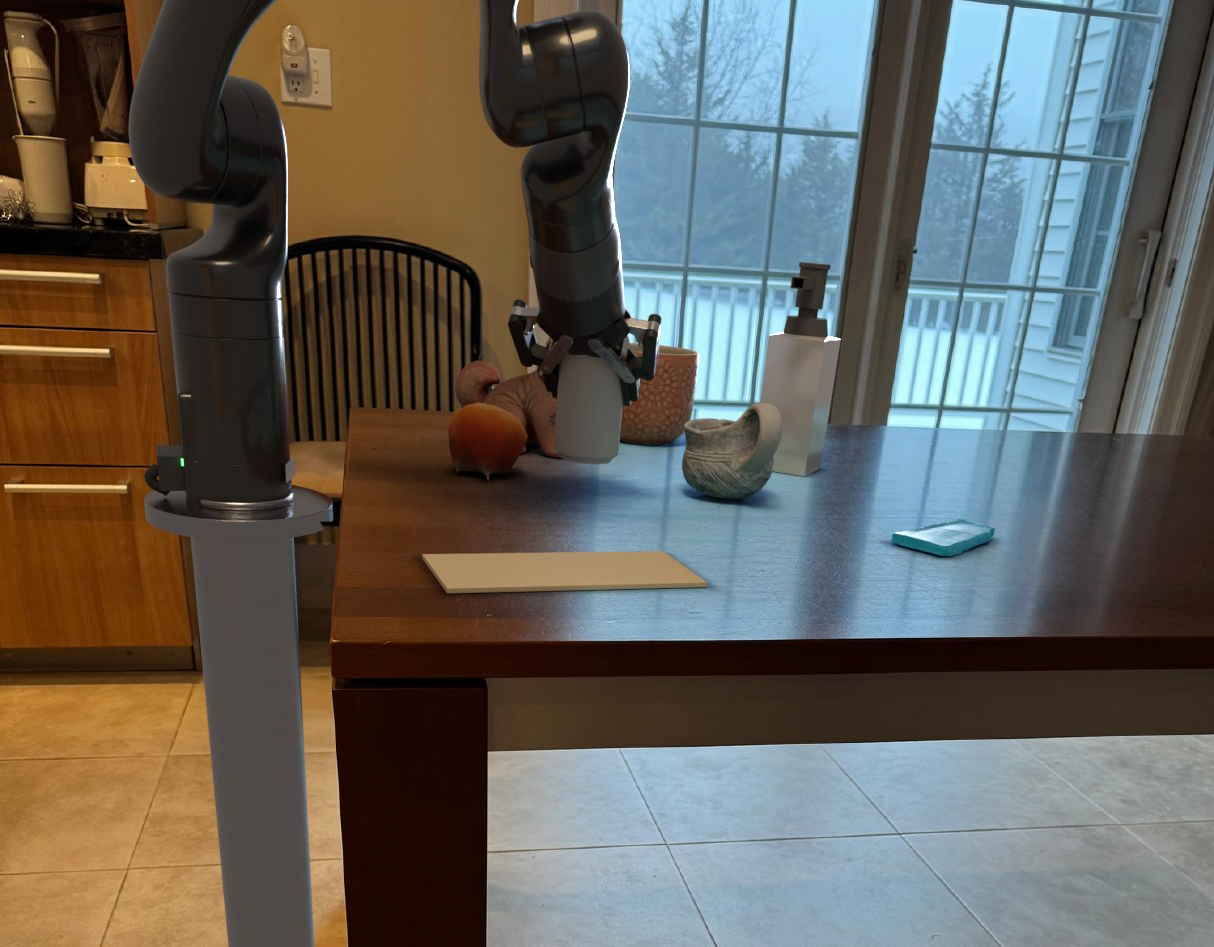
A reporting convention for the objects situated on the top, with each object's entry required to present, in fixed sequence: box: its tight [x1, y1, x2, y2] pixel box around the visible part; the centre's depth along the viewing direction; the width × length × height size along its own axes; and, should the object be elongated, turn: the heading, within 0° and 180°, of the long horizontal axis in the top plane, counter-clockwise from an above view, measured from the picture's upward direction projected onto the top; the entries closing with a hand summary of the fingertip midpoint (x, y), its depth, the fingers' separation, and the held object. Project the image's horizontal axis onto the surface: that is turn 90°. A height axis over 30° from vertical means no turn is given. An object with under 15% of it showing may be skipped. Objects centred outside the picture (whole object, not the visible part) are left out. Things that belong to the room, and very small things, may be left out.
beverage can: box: [554, 351, 623, 465], centre depth 109 cm, size 6×6×12 cm
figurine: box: [454, 336, 562, 459], centre depth 129 cm, size 10×19×15 cm, turn 72°
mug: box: [681, 402, 782, 500], centre depth 113 cm, size 10×12×10 cm
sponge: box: [891, 518, 996, 557], centre depth 105 cm, size 2×12×6 cm
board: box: [421, 550, 708, 594], centre depth 86 cm, size 20×9×1 cm, turn 109°
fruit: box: [447, 403, 528, 482], centre depth 116 cm, size 8×8×8 cm
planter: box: [620, 342, 701, 445], centre depth 142 cm, size 12×12×11 cm
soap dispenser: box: [759, 261, 842, 477], centre depth 128 cm, size 6×9×22 cm
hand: (593, 394), depth 110 cm, fingers closed on beverage can, 6 cm apart
